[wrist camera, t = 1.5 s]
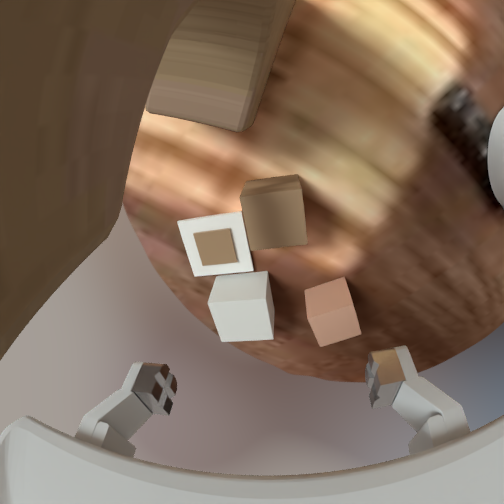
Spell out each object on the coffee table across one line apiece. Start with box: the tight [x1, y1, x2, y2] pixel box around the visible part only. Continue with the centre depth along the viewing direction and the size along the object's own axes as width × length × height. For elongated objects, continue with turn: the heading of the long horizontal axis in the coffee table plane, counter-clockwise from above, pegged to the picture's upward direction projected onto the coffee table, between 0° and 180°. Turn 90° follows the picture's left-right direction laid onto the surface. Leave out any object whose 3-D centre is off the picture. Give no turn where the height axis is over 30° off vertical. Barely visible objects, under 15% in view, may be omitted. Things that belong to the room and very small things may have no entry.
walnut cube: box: [240, 174, 308, 251], centre depth 25 cm, size 5×5×5 cm
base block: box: [208, 271, 275, 342], centre depth 31 cm, size 6×6×5 cm
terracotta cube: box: [304, 277, 361, 347], centre depth 30 cm, size 5×5×5 cm
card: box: [177, 211, 254, 276], centre depth 30 cm, size 7×7×1 cm
